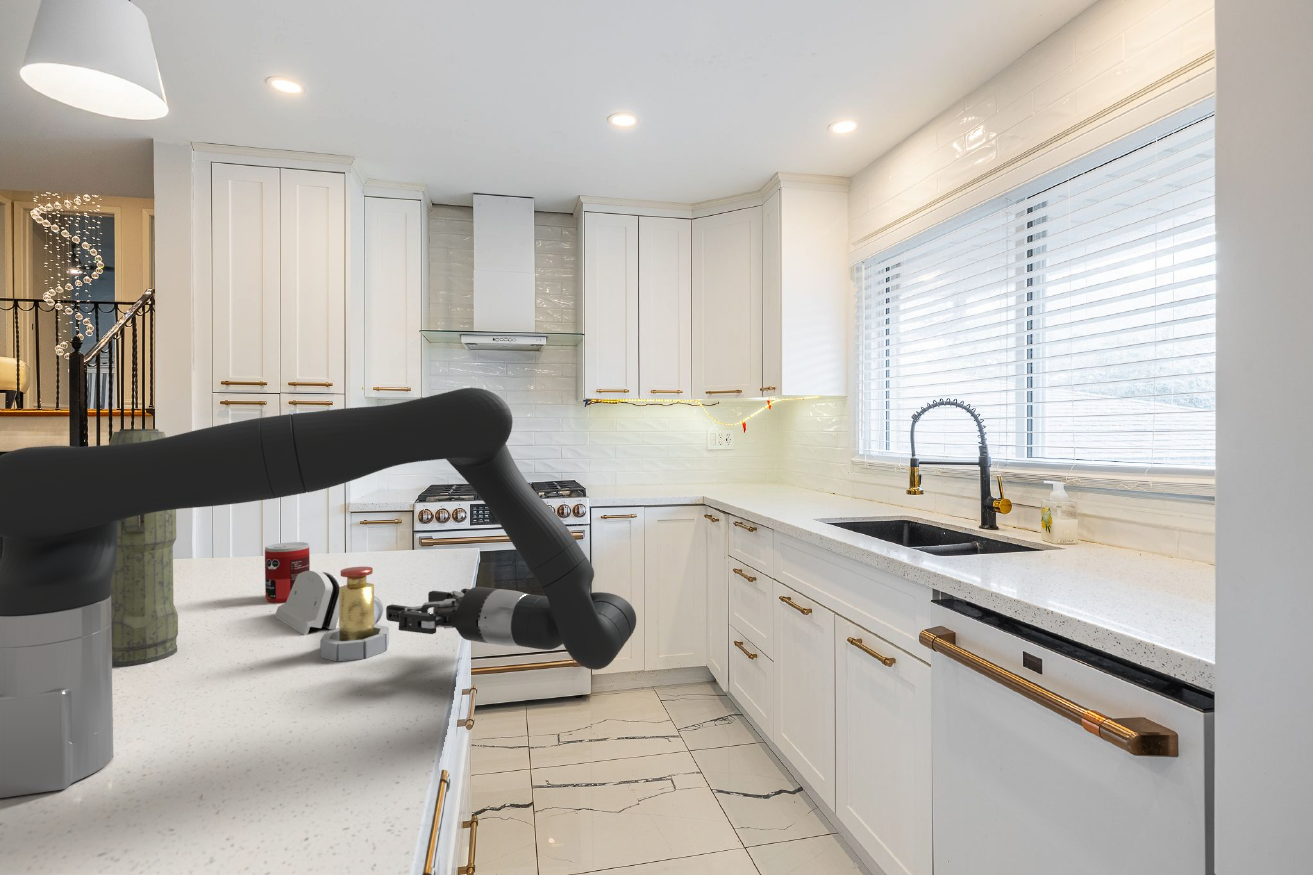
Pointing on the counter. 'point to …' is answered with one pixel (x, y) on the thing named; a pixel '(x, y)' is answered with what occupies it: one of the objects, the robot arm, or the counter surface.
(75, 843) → the counter surface
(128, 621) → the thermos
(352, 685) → the counter surface
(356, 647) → the grey octagonal holder
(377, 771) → the counter surface
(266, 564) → the canned food
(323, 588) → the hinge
